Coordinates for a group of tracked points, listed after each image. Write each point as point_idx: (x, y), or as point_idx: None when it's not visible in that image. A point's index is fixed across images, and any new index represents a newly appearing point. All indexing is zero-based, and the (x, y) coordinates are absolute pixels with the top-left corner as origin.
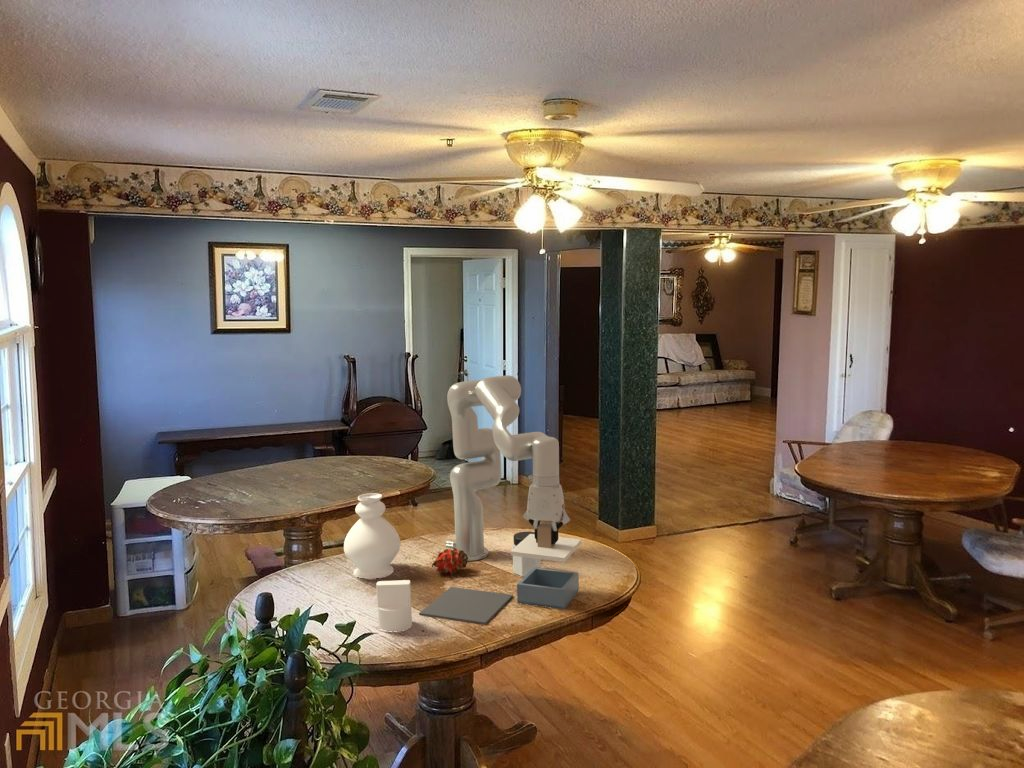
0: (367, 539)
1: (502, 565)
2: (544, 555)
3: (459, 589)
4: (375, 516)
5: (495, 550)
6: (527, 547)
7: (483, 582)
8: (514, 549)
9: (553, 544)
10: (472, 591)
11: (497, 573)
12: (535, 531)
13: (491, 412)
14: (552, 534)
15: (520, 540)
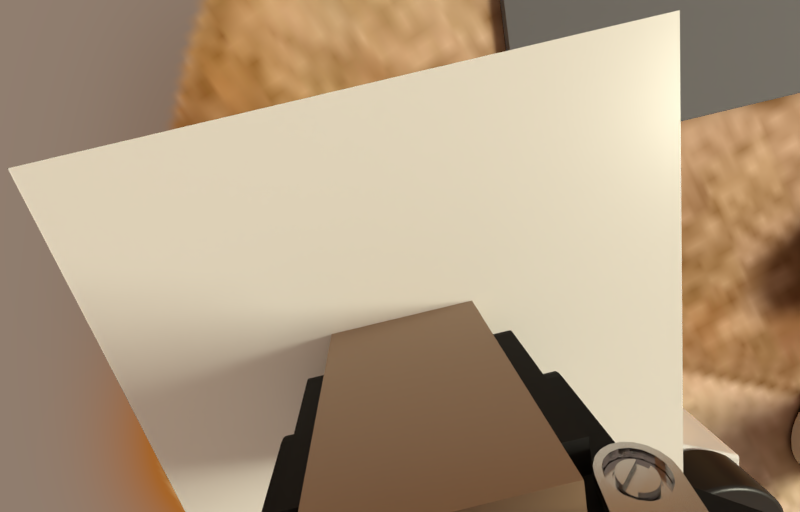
0: None
1: (702, 401)
2: (255, 112)
3: (776, 79)
4: None
5: (779, 492)
6: (556, 229)
7: (705, 225)
8: (659, 94)
9: (310, 378)
10: (710, 91)
11: (689, 331)
12: (590, 431)
13: None
14: (300, 465)
15: (716, 482)
